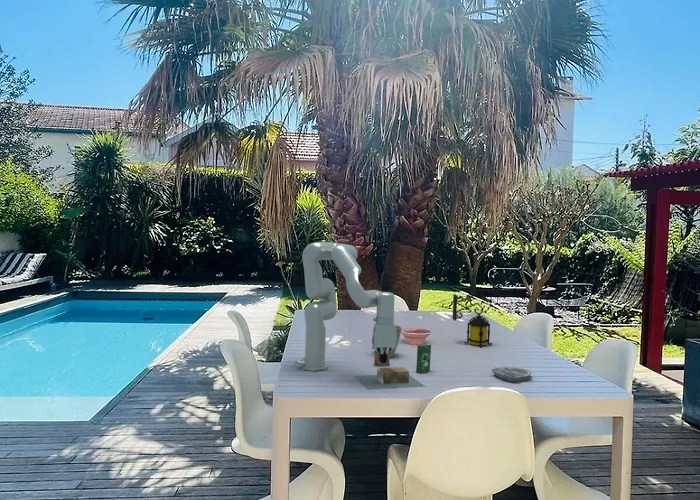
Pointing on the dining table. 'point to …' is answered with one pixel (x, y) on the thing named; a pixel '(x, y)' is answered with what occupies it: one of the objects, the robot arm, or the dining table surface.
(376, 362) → the lighter
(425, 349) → the coffee box
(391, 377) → the tan rectangular block
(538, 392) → the dining table surface
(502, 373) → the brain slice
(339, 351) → the dining table surface
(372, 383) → the slate mat
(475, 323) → the wall lantern
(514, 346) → the dining table surface
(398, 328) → the plant pot
